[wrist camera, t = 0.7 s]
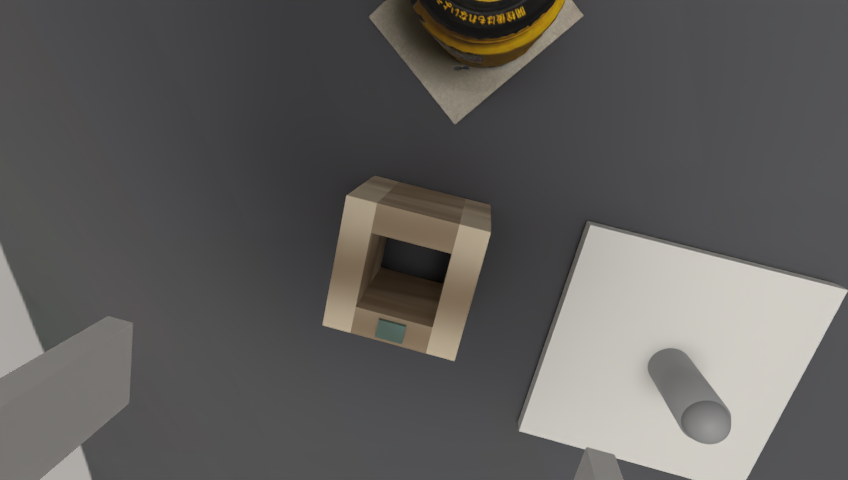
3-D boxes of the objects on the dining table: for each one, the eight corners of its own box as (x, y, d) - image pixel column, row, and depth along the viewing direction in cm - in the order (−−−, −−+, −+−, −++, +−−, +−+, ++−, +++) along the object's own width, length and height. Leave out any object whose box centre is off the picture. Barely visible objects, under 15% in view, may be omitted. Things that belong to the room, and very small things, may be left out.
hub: (587, 220, 28) (617, 260, 21) (835, 283, 27) (948, 344, 21) (518, 421, 32) (525, 507, 26) (731, 480, 32) (797, 585, 25)
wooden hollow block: (374, 175, 29) (345, 196, 23) (490, 204, 29) (491, 233, 23) (353, 283, 31) (321, 327, 25) (460, 311, 31) (454, 363, 25)
